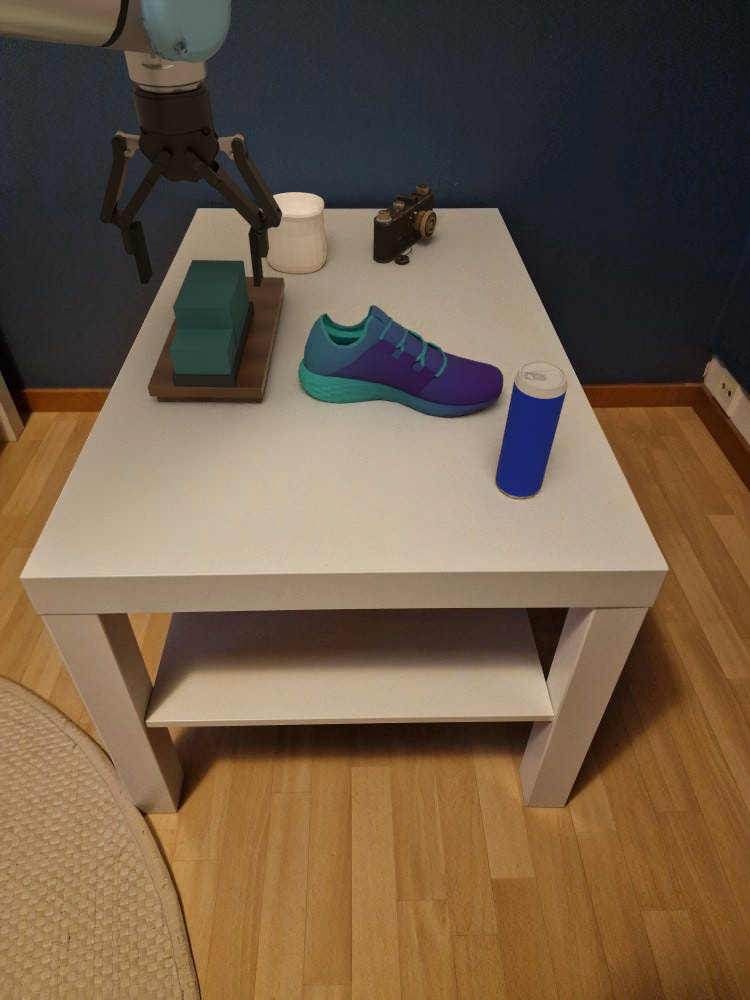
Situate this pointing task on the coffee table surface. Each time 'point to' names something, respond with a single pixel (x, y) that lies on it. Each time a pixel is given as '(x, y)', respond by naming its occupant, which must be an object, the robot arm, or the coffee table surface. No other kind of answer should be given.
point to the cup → (298, 234)
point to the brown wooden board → (252, 360)
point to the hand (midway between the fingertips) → (203, 280)
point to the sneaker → (393, 368)
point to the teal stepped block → (211, 324)
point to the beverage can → (530, 428)
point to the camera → (403, 225)
